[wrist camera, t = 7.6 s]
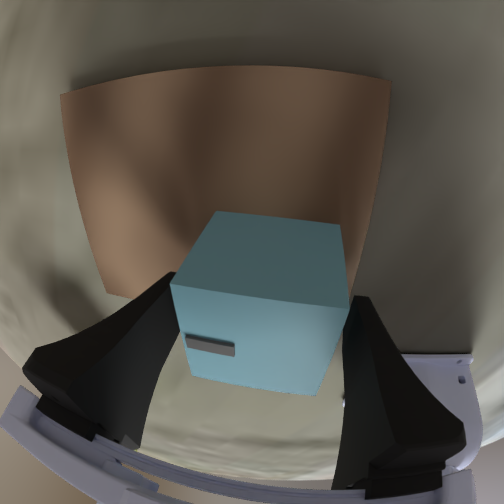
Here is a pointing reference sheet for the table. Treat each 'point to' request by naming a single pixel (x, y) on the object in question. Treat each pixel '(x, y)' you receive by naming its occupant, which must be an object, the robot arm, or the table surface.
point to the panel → (220, 159)
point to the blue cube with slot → (262, 301)
